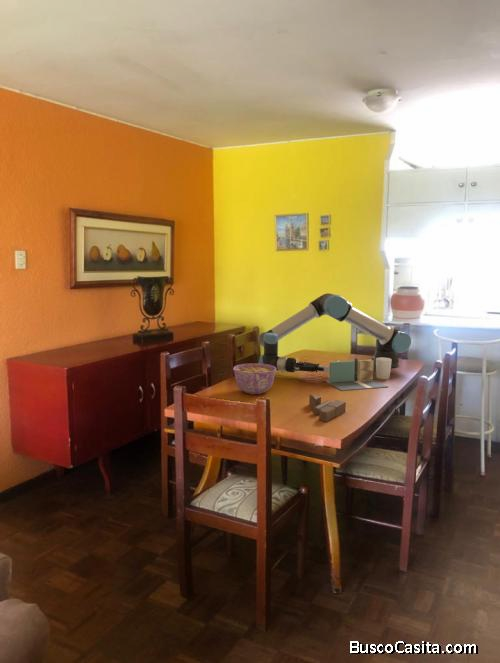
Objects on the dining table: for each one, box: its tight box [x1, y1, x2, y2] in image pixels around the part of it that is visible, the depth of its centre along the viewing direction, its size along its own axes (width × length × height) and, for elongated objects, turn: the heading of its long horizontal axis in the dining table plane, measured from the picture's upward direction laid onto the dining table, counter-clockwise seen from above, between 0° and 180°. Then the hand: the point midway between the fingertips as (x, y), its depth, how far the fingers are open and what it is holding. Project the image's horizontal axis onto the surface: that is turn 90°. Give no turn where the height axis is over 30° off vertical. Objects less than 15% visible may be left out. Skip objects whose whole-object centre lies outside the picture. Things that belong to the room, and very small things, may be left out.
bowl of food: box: [232, 363, 277, 395], centre depth 241 cm, size 20×20×12 cm
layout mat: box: [327, 377, 389, 392], centre depth 258 cm, size 25×20×1 cm
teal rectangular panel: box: [328, 360, 355, 382], centre depth 259 cm, size 13×2×10 cm, turn 107°
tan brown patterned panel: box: [354, 356, 376, 381], centre depth 263 cm, size 11×2×12 cm, turn 107°
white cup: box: [375, 357, 392, 380], centre depth 271 cm, size 8×8×10 cm
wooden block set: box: [308, 394, 347, 423], centre depth 211 cm, size 17×6×18 cm
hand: (330, 369), depth 260 cm, fingers closed
